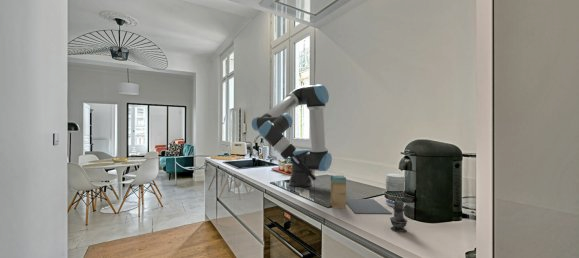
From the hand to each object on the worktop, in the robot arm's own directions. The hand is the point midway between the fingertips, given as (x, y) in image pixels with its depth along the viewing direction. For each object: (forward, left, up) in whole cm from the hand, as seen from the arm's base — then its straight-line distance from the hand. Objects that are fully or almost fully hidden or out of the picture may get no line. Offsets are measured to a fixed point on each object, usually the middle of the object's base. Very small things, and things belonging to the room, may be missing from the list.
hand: (319, 183), depth 116 cm
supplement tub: (-2, +38, -11) cm, 39 cm away
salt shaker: (+28, +25, -11) cm, 39 cm away
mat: (0, +22, -10) cm, 24 cm away
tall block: (0, +9, -11) cm, 14 cm away
